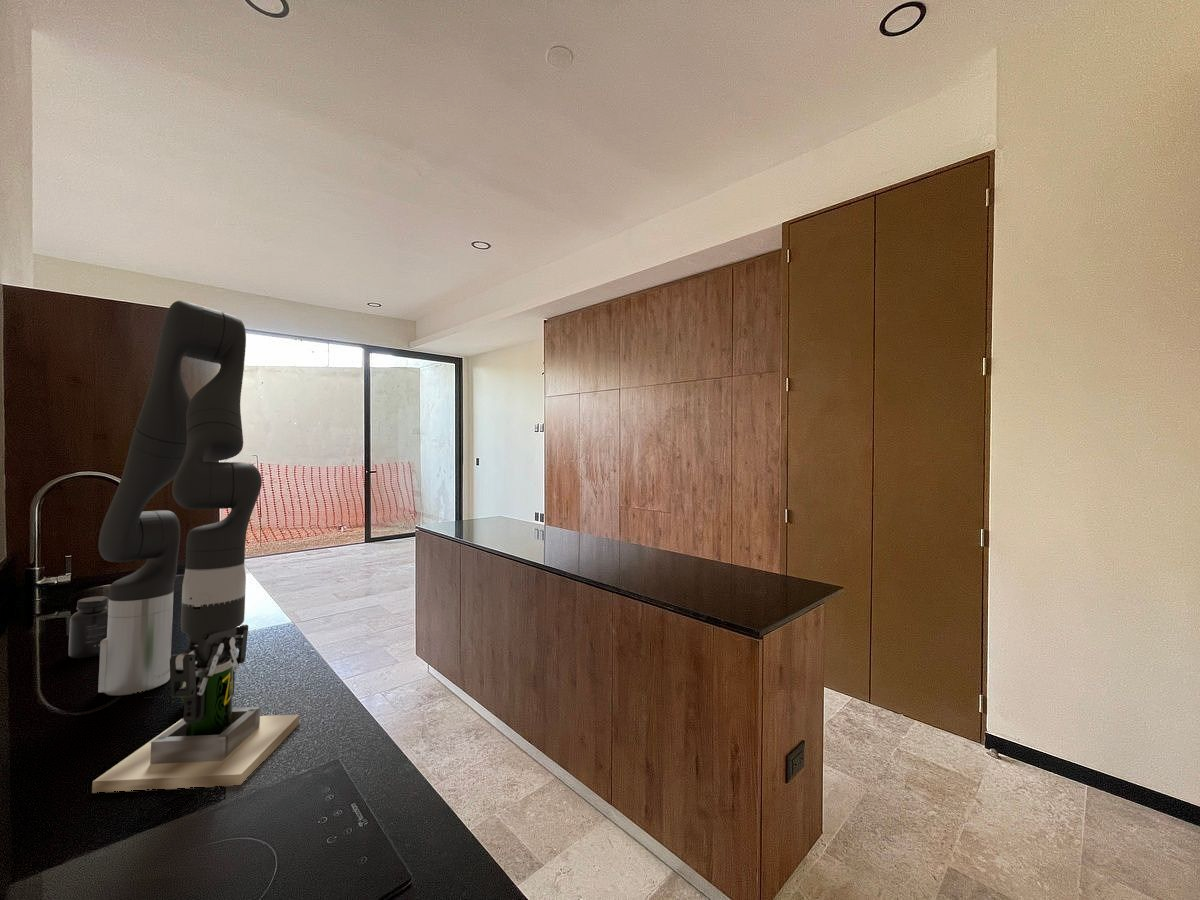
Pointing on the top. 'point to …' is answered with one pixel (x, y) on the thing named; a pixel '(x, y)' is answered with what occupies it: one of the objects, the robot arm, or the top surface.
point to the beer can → (215, 701)
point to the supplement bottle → (88, 627)
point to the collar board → (200, 755)
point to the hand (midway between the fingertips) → (209, 708)
